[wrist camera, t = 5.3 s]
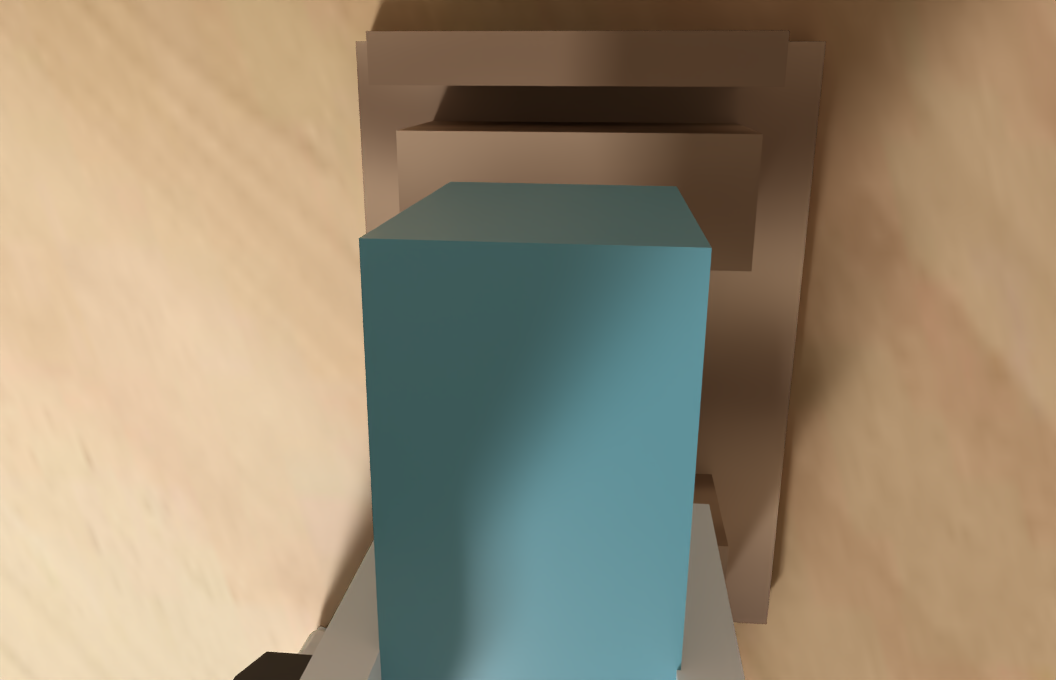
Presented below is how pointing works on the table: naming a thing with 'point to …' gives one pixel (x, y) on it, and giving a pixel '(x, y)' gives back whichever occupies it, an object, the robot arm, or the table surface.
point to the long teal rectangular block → (534, 429)
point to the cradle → (640, 160)
